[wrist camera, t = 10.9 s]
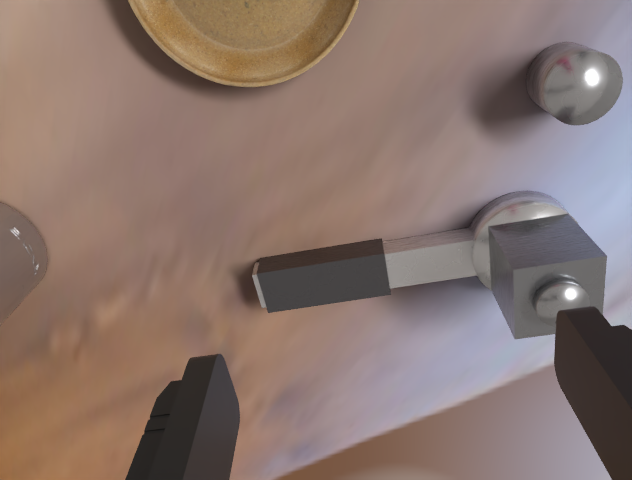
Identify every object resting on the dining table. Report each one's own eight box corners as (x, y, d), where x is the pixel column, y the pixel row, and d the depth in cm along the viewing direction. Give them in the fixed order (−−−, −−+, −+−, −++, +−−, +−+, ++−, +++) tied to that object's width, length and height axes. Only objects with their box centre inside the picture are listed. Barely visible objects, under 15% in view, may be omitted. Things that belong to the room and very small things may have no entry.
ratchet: (271, 316, 45) (263, 363, 40) (247, 236, 42) (235, 277, 36) (568, 272, 42) (602, 317, 37) (571, 182, 39) (609, 218, 33)
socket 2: (491, 289, 40) (518, 347, 34) (487, 226, 38) (517, 276, 32) (565, 278, 40) (607, 335, 34) (567, 213, 37) (613, 262, 31)
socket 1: (526, 114, 36) (546, 131, 33) (525, 49, 34) (547, 59, 31) (591, 102, 36) (620, 117, 32) (594, 35, 34) (625, 44, 30)
